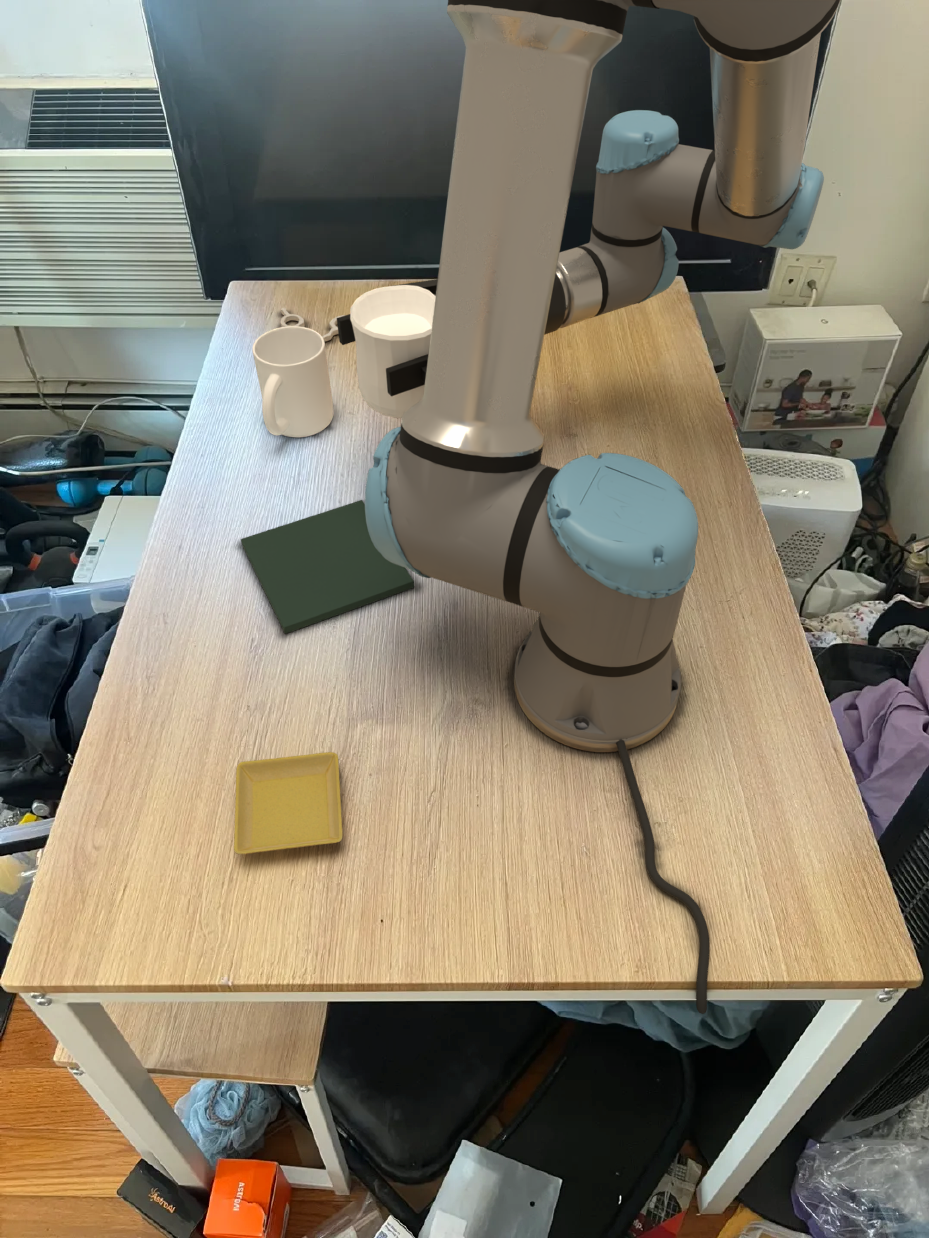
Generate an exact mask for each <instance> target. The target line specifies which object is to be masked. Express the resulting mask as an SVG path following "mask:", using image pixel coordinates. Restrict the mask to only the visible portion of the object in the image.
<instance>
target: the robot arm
mask: <svg viewBox="0 0 929 1238" xmlns="http://www.w3.org/2000/svg"><path fill="white" fill-rule="evenodd" d="M840 3H841V0H447V7H446V13H447V15H448V17H449V19H450V20H451V22H452V23H453V25H454V26H455V28H456V30H457V32H458V33H459V35H460V37H461V38H462V41H463V44H464V48H465V52H464V61H463V67H462V76H461V85H460V93H459V101H458V110H457V119H456V126H455V134H454V135H455V136H454V142H453V150H452V159H451V166H450V175H449V183H448V190H447V191H448V192H447V201H446V208H445V216H444V222H443V223H444V225H443V232H442V239H441V248H440V257H439V266H438V274H437V278H434V279H430V280H429V279H428V280H421V281H414V282H409V283H408V282H407V283H401V284H393V285H392V286H398V285H411V286H419V287H421V288H424V289H427V290H429V291H430V292H431V293H432V294H434V295H435V296H436V297H435V305H434V314H433V322H432V330H431V338H430V347H429V354H427V355H424V356H421V357H418V358H415V359H412V360H409V361H406V362H403V363H401V364H398V365H395V366H392V367H389V368H386V378H387V391H388V394H389V395H390V396H394V395H397V394H400V393H403V392H406V391H409V390H411V389H414V388H417V387H420V386H423V385H425V388H424V396H423V398H422V400H420V401H419V402H418V403H416V404H415V405H414V406H412V407H411V408H410V409H408V410H407V411H406V412H404V414H403V415H402V418H401V421H400V426H396V427H394V428H392V429H391V430H389V431H387V433H385V435H384V436H383V438H381V440H380V441H379V442H378V445H377V447H376V449H375V450H374V453H373V456H372V459H373V460H372V461H373V466H372V467H370V468H369V469H368V472H367V477H366V483H365V490H364V504H365V516H366V523H367V528H368V532H369V535H370V538H371V540H372V542H373V544H374V546H375V548H376V549H377V550H378V551H379V552H380V553H381V554H382V556H383V557H384V558H385V559H387V560H388V561H390V562H392V563H394V564H396V565H399V566H402V567H404V568H406V570H407V569H408V570H410V571H412V572H413V573H414V574H416V575H417V576H420V577H421V578H426V579H434V580H437V581H441V582H444V583H448V584H451V585H453V586H455V587H456V586H457V587H460V588H462V589H466V590H469V591H473V592H476V593H478V594H482V595H485V596H487V597H491V598H494V599H497V600H501V601H503V602H506V603H510V604H513V605H516V606H519V607H522V608H526V609H529V610H532V611H535V612H538V613H539V615H538V617H537V619H536V621H535V622H534V624H533V626H532V628H531V630H530V631H529V633H528V634H527V636H526V637H525V638H524V640H523V641H522V643H521V645H520V647H519V648H518V650H517V654H516V657H515V663H514V679H513V683H514V684H513V685H514V691H515V692H514V693H515V696H516V699H517V702H518V704H519V706H520V708H521V710H522V711H523V713H524V715H525V716H526V718H527V719H528V720H529V721H530V722H531V724H532V725H533V726H534V727H536V729H538V730H539V731H540V732H541V733H543V734H544V735H546V736H547V737H549V738H551V739H552V740H554V741H556V742H558V743H560V744H563V745H564V746H567V747H570V748H573V749H577V750H581V751H586V752H592V753H593V752H595V753H614V752H618V755H619V758H620V761H621V764H622V768H623V771H624V775H625V778H626V781H627V786H628V788H629V791H630V794H631V798H632V801H633V804H634V807H635V810H636V813H637V817H638V820H639V824H640V827H641V831H642V836H643V841H644V864H645V867H646V872H647V874H648V876H649V878H650V879H651V881H652V882H653V883H654V885H655V886H657V888H659V889H660V890H661V891H663V892H664V893H666V894H667V895H669V896H671V897H673V898H674V899H676V900H678V901H680V902H681V903H682V904H684V905H685V906H686V907H687V908H688V909H689V911H690V913H691V915H692V917H693V919H694V922H695V925H696V929H697V935H698V960H697V969H696V981H695V982H696V985H695V1006H696V1010H697V1011H698V1013H699V1014H701V1015H704V1014H706V1013H707V1010H708V978H709V966H710V955H711V953H710V952H711V946H710V945H711V941H710V933H709V928H708V924H707V921H706V919H705V916H704V913H703V911H702V909H701V908H700V906H699V904H698V903H697V902H696V901H695V900H694V898H692V897H691V896H690V895H689V894H688V893H686V892H684V891H683V890H681V889H680V888H678V887H676V886H675V885H673V884H670V883H669V882H668V881H667V880H665V879H664V878H663V877H662V876H661V875H660V873H659V871H658V869H657V867H656V859H655V858H656V857H655V856H656V855H655V853H656V847H655V846H656V845H655V839H654V838H655V837H654V833H653V830H652V826H651V823H650V820H649V816H648V811H647V809H646V806H645V803H644V800H643V796H642V794H641V791H640V787H639V784H638V781H637V777H636V775H635V771H634V767H633V765H632V761H631V758H630V755H629V751H628V750H630V749H633V748H636V747H639V746H641V745H643V744H645V743H647V742H649V741H650V740H652V739H653V738H656V737H657V736H658V735H659V734H660V733H661V732H662V731H663V730H664V729H665V728H666V727H667V726H668V724H669V723H670V722H671V719H672V718H673V716H674V714H675V711H676V708H677V705H678V702H679V698H680V694H681V690H682V674H681V669H680V664H679V659H678V656H677V652H676V647H675V642H674V636H675V632H676V628H677V626H678V625H677V624H678V620H679V616H680V612H681V608H682V604H683V599H684V597H685V592H686V588H687V585H688V583H689V581H690V580H691V577H692V575H693V573H694V571H695V567H696V549H697V543H698V538H699V518H698V514H697V510H696V508H695V505H694V504H693V502H692V500H691V499H690V498H689V497H688V496H687V495H686V493H685V489H684V487H682V486H681V485H680V483H679V482H678V481H677V480H676V479H674V477H672V476H671V475H670V474H669V473H668V472H666V471H665V470H663V469H661V468H660V467H658V466H657V465H654V464H653V463H650V462H649V461H646V460H644V459H641V458H637V457H635V456H632V455H627V454H623V453H616V452H601V453H600V454H598V457H594V456H592V455H591V454H586V455H581V456H580V457H576V458H574V459H572V460H570V461H568V462H567V463H565V464H564V465H563V466H562V467H561V468H556V467H553V466H549V465H546V464H543V463H542V455H543V451H544V450H543V449H544V445H545V444H544V443H545V435H544V433H543V431H542V430H541V428H540V427H539V426H538V424H537V423H536V421H535V420H534V419H533V418H532V415H531V408H532V405H533V399H534V394H535V389H536V384H537V383H536V382H537V377H538V372H539V367H540V362H541V354H542V350H543V344H544V340H545V339H544V338H545V335H548V334H551V333H554V332H556V331H558V330H559V329H564V328H567V327H570V326H572V325H574V324H578V323H580V322H583V321H586V320H588V319H592V318H596V317H599V316H602V315H605V314H607V313H611V312H614V311H617V310H620V309H624V308H627V307H629V306H632V305H638V304H641V303H643V302H645V301H647V300H649V299H651V298H653V297H656V296H657V295H659V294H661V293H663V292H666V291H667V290H668V289H669V288H670V287H671V286H672V284H673V283H674V282H675V279H676V277H677V275H678V270H679V265H680V260H679V259H678V258H677V251H678V246H677V244H676V242H675V239H674V238H673V235H671V233H670V232H669V230H667V229H666V228H665V227H667V228H673V229H677V230H683V231H688V232H693V233H699V234H703V235H708V236H712V237H718V238H723V239H726V240H727V239H728V240H731V241H737V242H742V243H747V244H750V245H751V244H752V245H755V246H759V247H761V248H765V249H766V248H770V247H771V248H778V249H784V250H785V249H786V250H795V249H799V248H800V247H801V246H802V245H803V244H804V243H805V242H806V239H807V237H808V235H809V231H810V229H811V227H812V223H813V220H814V218H815V214H816V211H817V207H818V204H819V200H820V197H821V194H822V190H823V186H824V182H825V177H824V174H823V171H821V170H820V169H819V168H817V167H813V166H809V165H806V164H805V163H803V157H804V150H805V144H806V137H807V129H808V123H809V117H810V110H811V104H812V103H811V102H812V97H813V90H814V83H815V76H816V68H817V63H818V56H819V49H820V41H821V35H822V32H823V31H825V29H826V28H827V27H828V25H829V24H830V23H831V21H832V19H833V18H834V16H835V15H836V12H837V10H838V8H839V6H840ZM630 7H639V8H640V7H641V8H649V9H656V10H659V9H665V10H672V11H678V12H681V13H684V14H688V15H690V16H692V19H693V22H694V25H695V28H696V30H697V32H698V34H699V37H700V39H702V41H703V42H704V43H705V45H706V46H708V48H709V62H710V79H711V81H710V83H711V97H712V98H711V99H712V119H713V138H714V140H713V141H714V149H708V148H704V147H703V148H702V147H697V146H691V145H685V144H679V142H680V138H679V126H678V124H677V122H676V120H675V119H673V117H671V116H670V115H666V114H665V115H664V114H662V113H661V112H659V111H654V110H646V109H645V110H644V109H635V110H628V111H622V112H621V113H618V114H616V115H614V116H613V117H612V118H610V119H609V120H608V121H607V122H606V123H605V125H604V127H603V130H602V134H601V135H602V136H601V143H600V149H599V156H598V162H597V163H596V165H595V170H596V175H595V186H594V187H595V188H594V199H593V200H594V201H593V209H592V212H593V213H592V222H591V229H590V239H589V242H588V243H584V244H582V245H579V246H577V247H573V248H570V249H566V250H563V251H561V246H562V242H563V241H562V240H563V236H564V229H565V224H566V218H567V214H568V213H567V212H568V207H569V202H570V198H571V197H570V196H571V191H572V187H573V180H574V174H575V170H576V169H575V168H576V164H577V160H578V158H577V157H578V153H579V146H580V142H581V136H582V132H583V131H582V130H583V125H584V120H585V115H586V108H587V105H588V104H587V103H588V98H589V92H590V89H591V81H592V76H593V70H594V68H595V67H596V65H597V64H598V63H599V61H600V60H602V59H603V58H604V57H605V56H606V55H608V54H609V53H610V52H611V51H612V50H614V48H616V47H617V46H618V45H619V44H621V43H622V40H623V35H624V30H625V26H626V21H627V15H628V11H629V8H630ZM344 315H345V316H342V317H339V318H337V325H336V326H337V327H338V333H339V334H338V341H339V343H340V344H341V346H345V345H348V344H351V343H355V342H356V341H355V335H354V330H353V326H352V322H351V320H350V313H348V314H344Z"/></svg>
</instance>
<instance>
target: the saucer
mask: <svg viewBox="0 0 929 1238" xmlns="http://www.w3.org/2000/svg"><path fill="white" fill-rule="evenodd" d="M235 769H236V770H235V801H234V803H235V804H234V808H235V809H234V829H233V831H234V834H233V851H234V853H235V854H237V855H248V854H256V853H264V852H271V851H279V850H288V849H295V848H304V847H311V846H321V845H329V844H336V843H340V842H341V841H342V840H343V836H344V835H343V834H344V833H343V832H344V831H343V817H342V802H341V801H342V799H341V783H340V781H341V780H340V763H339V754H337V753H336V752H332V751H327V752H318V753H317V752H316V753H309V754H301V755H292V756H291V755H290V756H284V757H283V756H282V757H275V758H274V757H273V758H264V759H256V760H245V761H240V762H239V763H238V764H237V766H236V768H235Z"/></svg>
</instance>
